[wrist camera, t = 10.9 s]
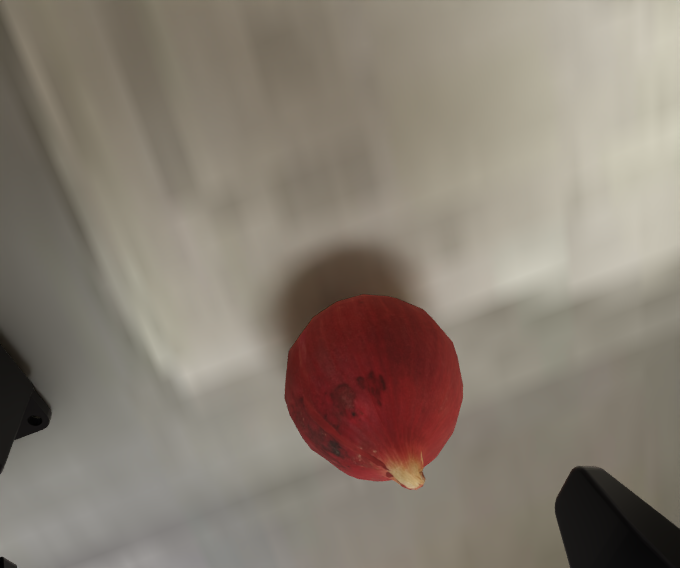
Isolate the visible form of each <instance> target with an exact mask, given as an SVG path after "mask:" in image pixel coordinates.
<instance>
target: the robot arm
mask: <svg viewBox="0 0 680 568" xmlns="http://www.w3.org/2000/svg"><path fill="white" fill-rule="evenodd" d="M51 414H52V412H51V410H50V408H49V407H48V406H47V405H46V404H45V402H44V401H43V400H42V399H41V397H40V396H39V395H38V394H37V393H36V391H35V390H34V389H33V384H32V383H31V382H30V380H29V379H28V378H27V377H26V375H25V374H24V373H23V372H22V370H21V369H20V368H19V367H18V366H17V364H16V363H15V362H14V361H13V359H12V358H11V357H10V356H9V354H8V353H7V352H6V351H5V350H4V348H3V347H2V346H1V345H0V474H1V473H2V471H3V469H4V466H5V464H6V461H7V458H8V455H9V453H10V450H11V447H12V444H13V442H14V440H16V439H19V438H21V437H24V436H27V435H30V434H32V433H35V432H38V431H40V430H43V429H44V428H46V427H47V426H48V425H49V422H50V419H51ZM34 415H35V416H39V417H40V418H38V419H37V418H34V417H32V416H34ZM555 514H556V518H557V522H558V526H559V529H560V533H561V536H562V540H563V543H564V547H565V551H566V554H567V558H568V561H569V565H570V568H680V529H679V528H678V527H677V526H675V525H674V524H673V523H672V522H670V521H669V520H668V519H666V518H665V517H664V516H663V515H661V514H660V513H659V512H657V511H656V510H655V509H654V508H652V507H651V506H650V505H648V504H647V503H646V502H645V501H643V500H642V499H641V498H639V497H638V496H637V495H636V494H634V493H633V492H632V491H630V490H629V489H628V488H627V487H625V486H624V485H623V484H621V483H620V482H619V481H617V480H616V479H615V478H614V477H612V476H611V475H610V474H608V473H607V472H606V471H605V470H603V469H602V468H599V467H594V466H577V467H575V468H573V469H572V471H571V472H570V474H569V476H568V478H567V479H566V481H565V483H564V485H563V487H562V489H561V491H560V492H559V494H558V496H557V498H556V502H555ZM0 568H17V565H15V564H14V563H12V562H10V561H9V560H7V559H5V558H4V557H0Z"/></svg>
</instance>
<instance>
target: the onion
mask: <svg viewBox="0 0 680 568" xmlns="http://www.w3.org/2000/svg"><path fill="white" fill-rule="evenodd" d="M462 399H463V383H462V378H461V373H460V368H459V363H458V357H457V354H456V351H455V348H454V345H453V342H452V341H451V340H450V339H449V337H448V336H447V335H446V334H445V333H444V332H443V330H442V329H441V328H440V327H439V326H438V324H437V323H436V322H435V321H434V320H433V319H432V318H431V317H430V316H429V315H428V314H427V313H426V312H425V311H424V310H423V309H421V308H419V307H416V306H414V305H411V304H409V303H406V302H404V301H402V300H399V299H397V298H393V297H389V296H378V295H365V294H362V295H359V296H355V297H351V298H348V299H344V300H340V301H337V302H335V303H334V304H332V305H331V306H329V307H328V308H326V309H325V310H323V311H322V312H320V313H319V314H317V315H315V316H314V317H313V318H312V320H311V321H310V322H309V324H308V325H307V326H306V328H305V329H304V331H303V332H302V333H301V335H300V336H299V337H298V339H297V340H296V342H295V343H294V344H293V346H292V347H291V349H290V350H289V353H288V362H287V372H286V383H285V401H286V404H287V407H288V411H289V414H290V416H291V418H292V420H293V422H294V423H295V425H296V427H297V429H298V431H299V432H300V434H301V436H302V438H303V439H304V440H305V442H306V443H307V444H308V446H309V447H310V448H311V449H312V450H313V451H315V452H316V453H318V454H319V455H321V456H322V457H324V458H325V459H326V460H328V461H329V462H330V463H332V464H333V465H334V466H336V467H337V468H338V469H340V470H341V471H343V472H344V473H346V474H348V475H349V476H352V477H355V478H357V479H363V480H371V481H388V480H394V481H396V482H397V483H398V484H400V485H401V486H402V487H405V488H407V489H410V490H411V489H414V490H416V489H418V488H420V487H422V486H423V484H424V482H425V477H424V475H423V472H422V471H423V468H424V467H425V466H426V465H427V464H429V463H430V462H431V461H433V460H434V459H435V458H436V457H437V455H438V454H439V452H440V451H441V449H442V448H443V447H444V445H445V444H446V442H447V441H448V439H449V438H450V436H451V435H452V433H453V431H454V428H455V425H456V422H457V418H458V415H459V411H460V407H461V403H462Z"/></svg>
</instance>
